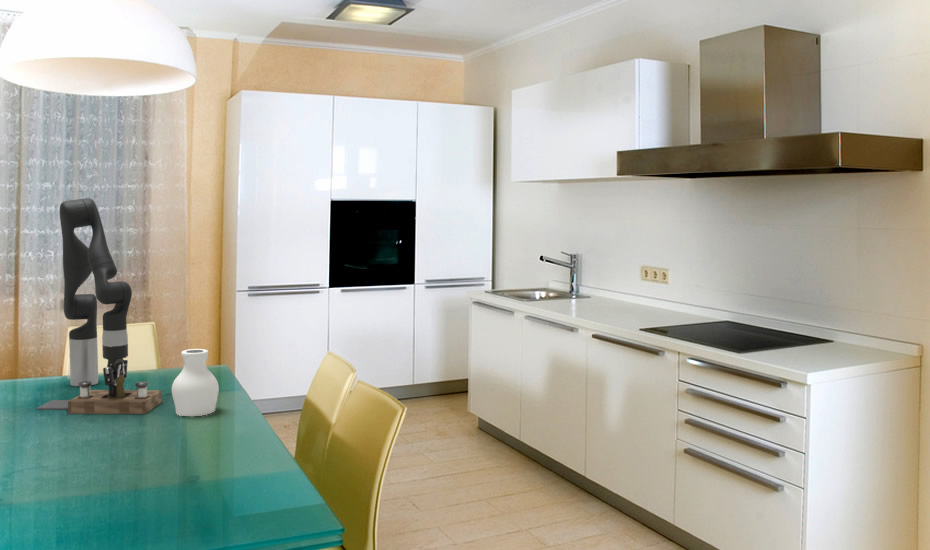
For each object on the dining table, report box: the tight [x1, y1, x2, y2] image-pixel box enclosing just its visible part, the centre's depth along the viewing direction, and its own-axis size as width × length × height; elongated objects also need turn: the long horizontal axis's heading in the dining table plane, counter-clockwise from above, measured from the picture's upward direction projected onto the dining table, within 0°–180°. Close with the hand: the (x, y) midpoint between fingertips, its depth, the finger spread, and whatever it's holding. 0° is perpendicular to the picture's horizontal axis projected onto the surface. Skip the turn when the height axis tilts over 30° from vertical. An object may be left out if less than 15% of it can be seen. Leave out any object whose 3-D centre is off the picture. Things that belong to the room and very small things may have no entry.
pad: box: [36, 399, 70, 411], centre depth 249 cm, size 10×10×1 cm
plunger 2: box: [134, 381, 149, 399], centre depth 246 cm, size 4×4×8 cm
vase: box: [171, 348, 220, 417], centre depth 244 cm, size 14×14×20 cm
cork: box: [108, 374, 126, 399], centre depth 248 cm, size 6×6×11 cm
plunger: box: [78, 381, 93, 399], centre depth 245 cm, size 4×4×8 cm
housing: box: [67, 389, 163, 415], centre depth 248 cm, size 15×24×4 cm, turn 93°
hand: (116, 394), depth 248 cm, fingers closed on cork, 5 cm apart
